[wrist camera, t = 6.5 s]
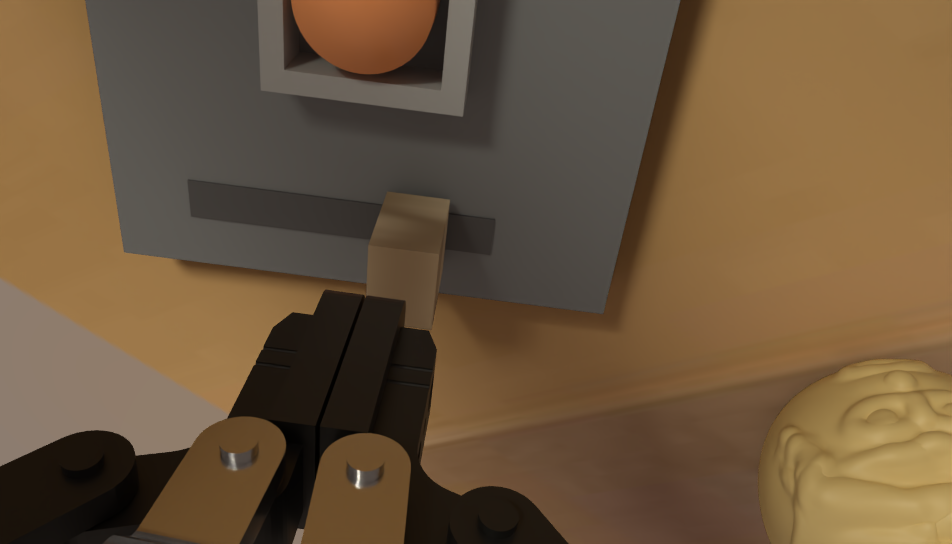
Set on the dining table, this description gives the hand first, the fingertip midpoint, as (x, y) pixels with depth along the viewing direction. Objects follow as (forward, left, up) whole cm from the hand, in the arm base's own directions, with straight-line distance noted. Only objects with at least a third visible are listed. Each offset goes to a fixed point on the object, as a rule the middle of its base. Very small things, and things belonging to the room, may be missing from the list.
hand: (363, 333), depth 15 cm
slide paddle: (-1, -6, -15) cm, 16 cm away
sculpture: (+21, -15, -18) cm, 32 cm away
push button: (-3, +3, -15) cm, 15 cm away
